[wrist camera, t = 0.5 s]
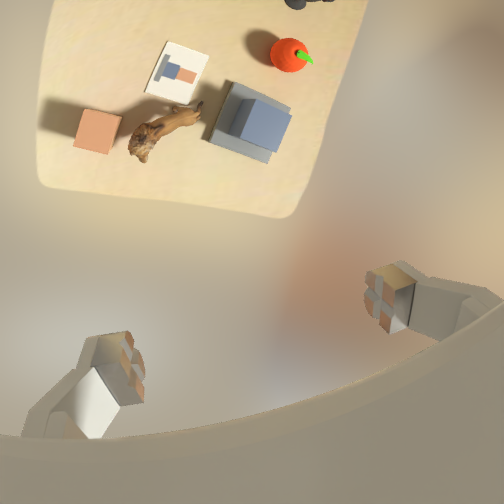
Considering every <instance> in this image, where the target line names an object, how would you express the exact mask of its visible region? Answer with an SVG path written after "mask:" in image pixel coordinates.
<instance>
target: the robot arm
mask: <svg viewBox="0 0 504 504" xmlns="http://www.w3.org/2000/svg"><path fill="white" fill-rule="evenodd" d="M365 283H366V285H367V286H368V288H367V290H366V291H365V293H364V303H365V307H366V309H367V311H368V313H369V314H370V315H371V316H372V317H373V318H376V319H379V325H380V326H381V327H382V328H383V329H384V330H385V331H386V332H387V333H388V334H389V335H390V334H393V333H395V332H397V331H400V330H403V329H405V328H407V327H408V328H409V329H411V330H414V331H416V332H418V333H421V334H423V335H426V336H428V337H430V338H433V339H435V340H438V341H439V342H438V343H436V344H434V345H432V346H430V347H428V348H427V349H425V350H423V351H421V352H419V353H417V354H415V355H413V356H411V357H409V358H407V359H405V360H403V361H401V362H399V363H396V364H394V365H392V366H390V367H388V368H386V369H383V370H381V371H379V372H377V373H374V374H372V375H370V376H367V377H365V378H362V379H360V380H357V381H355V382H352V383H350V384H347V385H345V386H343V387H340V388H337V389H335V390H332V391H329V392H326V393H323V394H321V395H318V396H315V397H312V398H309V399H306V400H303V401H300V402H297V403H293V404H291V405H287V406H284V407H281V408H277V409H273V410H270V411H266V412H263V413H259V414H255V415H251V416H247V417H243V418H239V419H235V420H231V421H226V422H221V423H217V424H212V425H207V426H201V427H196V428H190V429H184V430H178V431H171V432H164V433H157V434H148V435H139V436H128V437H115V438H101V437H102V435H103V434H104V432H105V431H106V429H107V427H108V426H109V424H110V423H111V421H112V420H113V418H114V417H115V415H116V414H117V412H118V411H119V409H120V406H126V405H133V404H139V403H144V386H143V384H142V381H143V380H144V378H145V367H144V362H143V359H142V356H141V354H140V352H139V351H138V350H137V349H135V348H134V339H133V337H132V335H131V333H130V332H129V331H122V332H116V333H110V334H104V335H97V336H92V337H88V338H86V340H85V343H84V346H83V349H82V352H81V355H80V358H79V361H78V364H77V367H76V369H72V370H71V371H70V372H69V373H68V374H67V375H66V376H65V377H63V378H62V379H61V380H60V381H59V382H58V383H57V384H56V385H55V386H54V387H53V388H52V389H51V390H50V391H49V392H48V393H47V394H46V395H45V396H44V397H42V399H40V400H39V401H38V402H37V403H36V404H35V405H34V406H33V407H32V408H31V409H30V410H29V412H28V415H27V418H26V421H25V424H24V427H23V430H22V434H21V437H19V436H9V435H1V434H0V504H504V300H503V299H501V298H500V297H499V296H497V295H496V294H494V293H493V292H491V291H490V290H488V289H487V288H485V287H480V286H475V285H470V284H465V283H460V282H455V281H451V280H445V279H440V278H436V277H430V278H428V277H427V276H425V275H424V274H423V273H421V272H420V271H418V270H417V269H415V268H414V267H412V266H411V265H409V264H408V263H406V262H405V261H401V260H400V261H397V262H394V263H391V264H389V265H386V266H383V267H380V268H377V269H374V270H371V271H368V272H367V273H366V276H365Z"/></svg>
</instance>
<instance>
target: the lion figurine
mask: <svg viewBox="0 0 504 504" xmlns="http://www.w3.org/2000/svg"><path fill="white" fill-rule="evenodd" d="M202 104H203V101H201V102H200V103H199V104H198V109H197V112H194V111H193V110H192V109H190V108H187V107H178V106H174V107H173V108H172V110H173V112H177V113H176V114H172V115H167V116H164V117H161V118H158V119H156V120H155V121H153V122H152V123H150V122H149V123H143V124H142V125H140V126H139V127H138V128H137V129H136V130H135V132H134V133H133V135H132V136H131V139H130V140H129V145H128V150H129V151H130V154H131V155H136V156H137V157H138V158H139V160H140V162H142V163H146V162H147V160H148V154H149V151H150V150H152V149H153V147H154V145H155V144H156V142H157V141H158V140H159V139H160V138H161V137H162V136H164V135H167V134H169V133H171V132H172V131H174V130H175V129H177V128H178V127H180V126H190V125H193V124H194V123H195V122H196V121H197V120H199V119H200V118H201V116H200V113H201V110H200V108H201V106H202Z"/></svg>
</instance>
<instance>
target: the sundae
mask: <svg viewBox="0 0 504 504" xmlns="http://www.w3.org/2000/svg"><path fill="white" fill-rule="evenodd" d="M306 1H307V2H316V1H321V0H285V2H286V3H287V5H288V6H289V7H291V8H292V9H296V10H301V9H303V8H304V7H305V6H306ZM322 1H323V2H333V1H334V0H322Z"/></svg>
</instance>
